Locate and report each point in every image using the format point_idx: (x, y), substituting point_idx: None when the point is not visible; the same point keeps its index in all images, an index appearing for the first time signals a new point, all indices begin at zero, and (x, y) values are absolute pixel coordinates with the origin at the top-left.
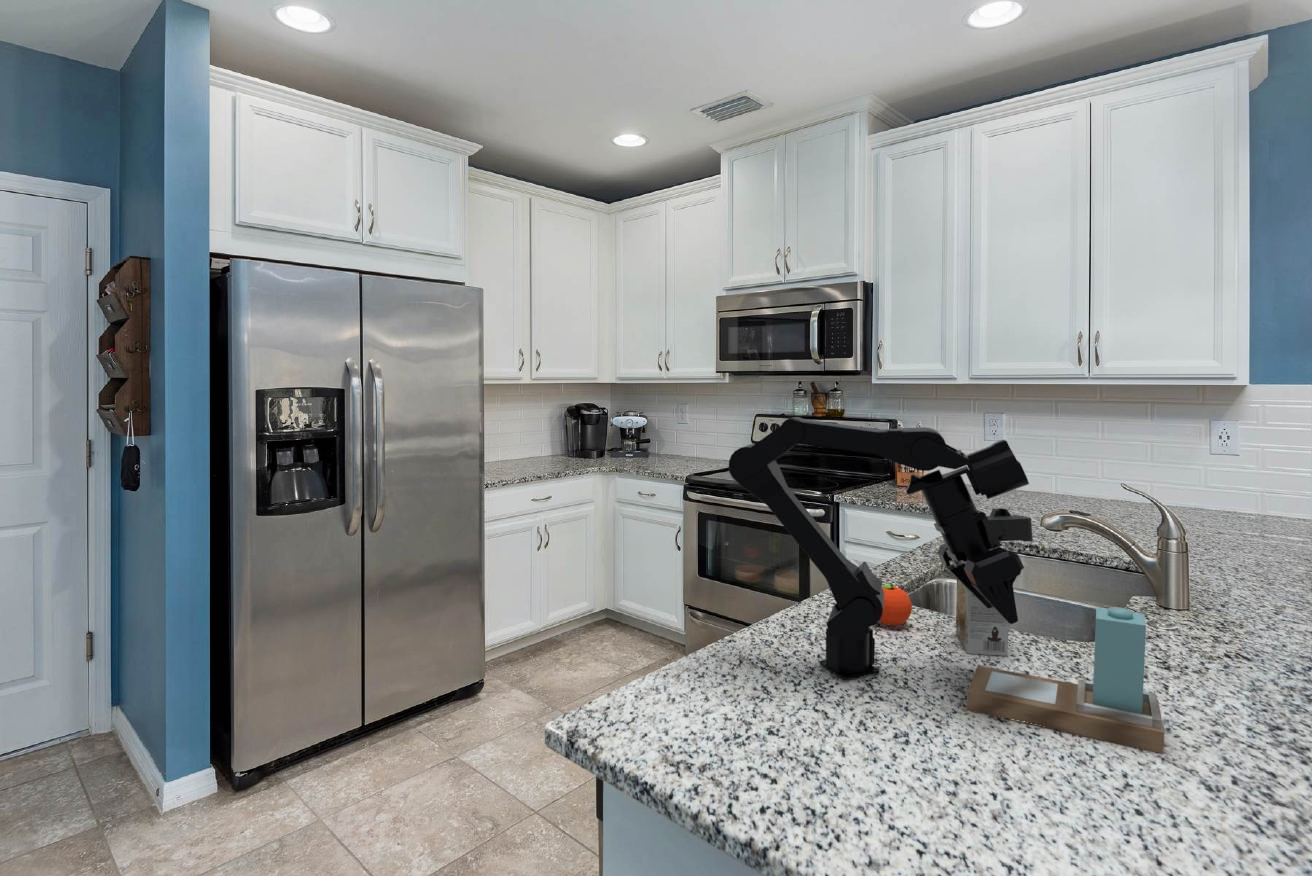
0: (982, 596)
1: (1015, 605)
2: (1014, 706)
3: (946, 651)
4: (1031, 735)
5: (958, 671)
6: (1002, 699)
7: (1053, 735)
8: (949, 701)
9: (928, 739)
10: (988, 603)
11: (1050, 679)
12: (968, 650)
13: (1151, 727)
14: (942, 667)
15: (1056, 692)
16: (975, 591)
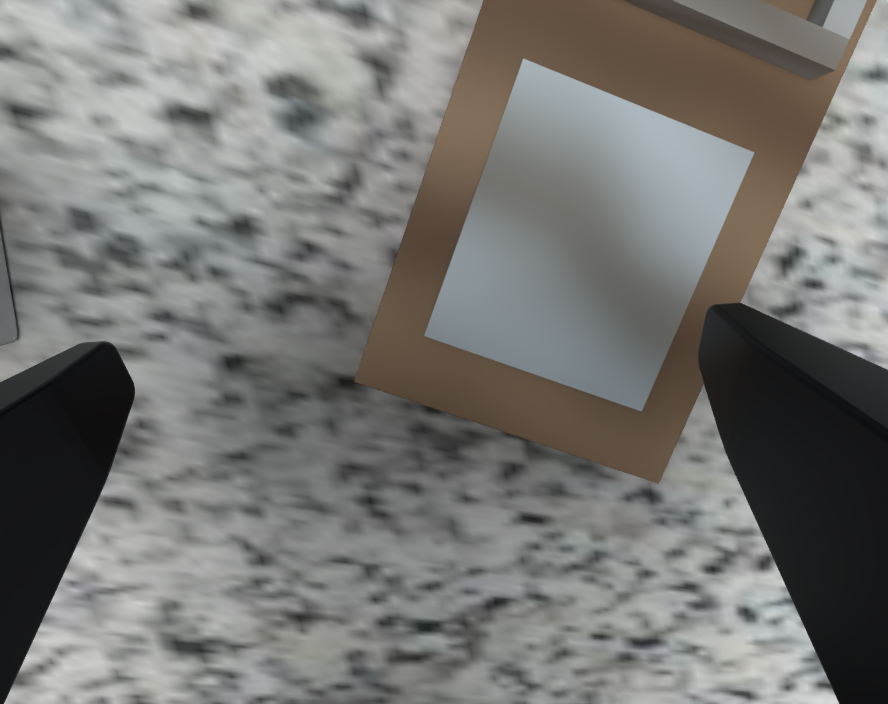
0: (73, 481)
1: (884, 371)
2: None
3: None
4: (801, 276)
5: (257, 417)
6: None
7: (795, 196)
8: (565, 499)
9: None
10: (111, 403)
11: (463, 75)
12: (7, 338)
13: None
14: (228, 474)
15: (625, 101)
16: (41, 570)
